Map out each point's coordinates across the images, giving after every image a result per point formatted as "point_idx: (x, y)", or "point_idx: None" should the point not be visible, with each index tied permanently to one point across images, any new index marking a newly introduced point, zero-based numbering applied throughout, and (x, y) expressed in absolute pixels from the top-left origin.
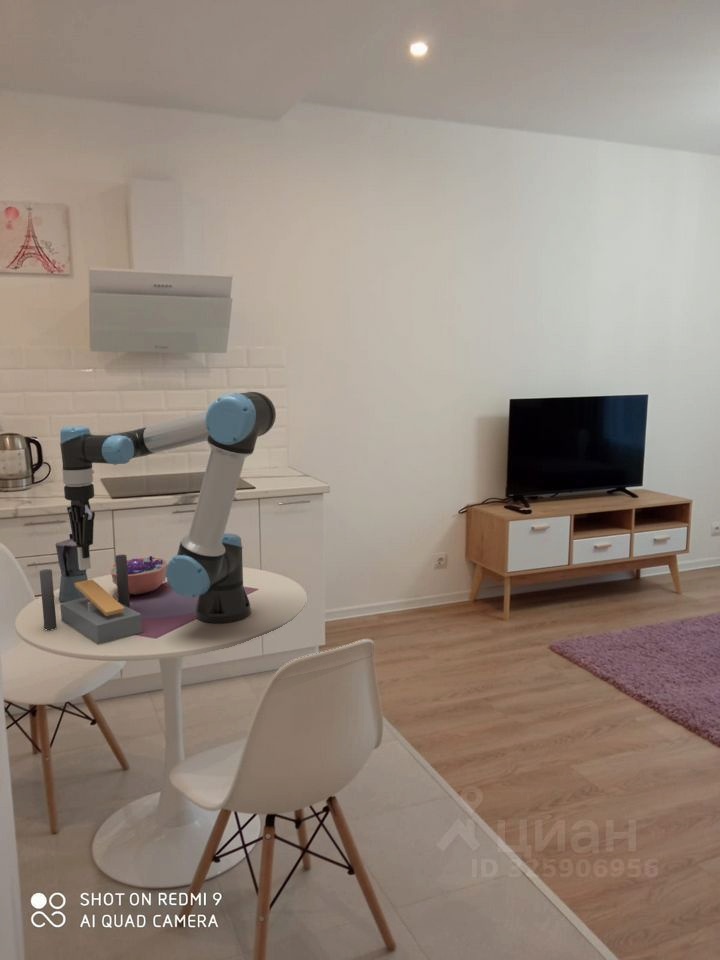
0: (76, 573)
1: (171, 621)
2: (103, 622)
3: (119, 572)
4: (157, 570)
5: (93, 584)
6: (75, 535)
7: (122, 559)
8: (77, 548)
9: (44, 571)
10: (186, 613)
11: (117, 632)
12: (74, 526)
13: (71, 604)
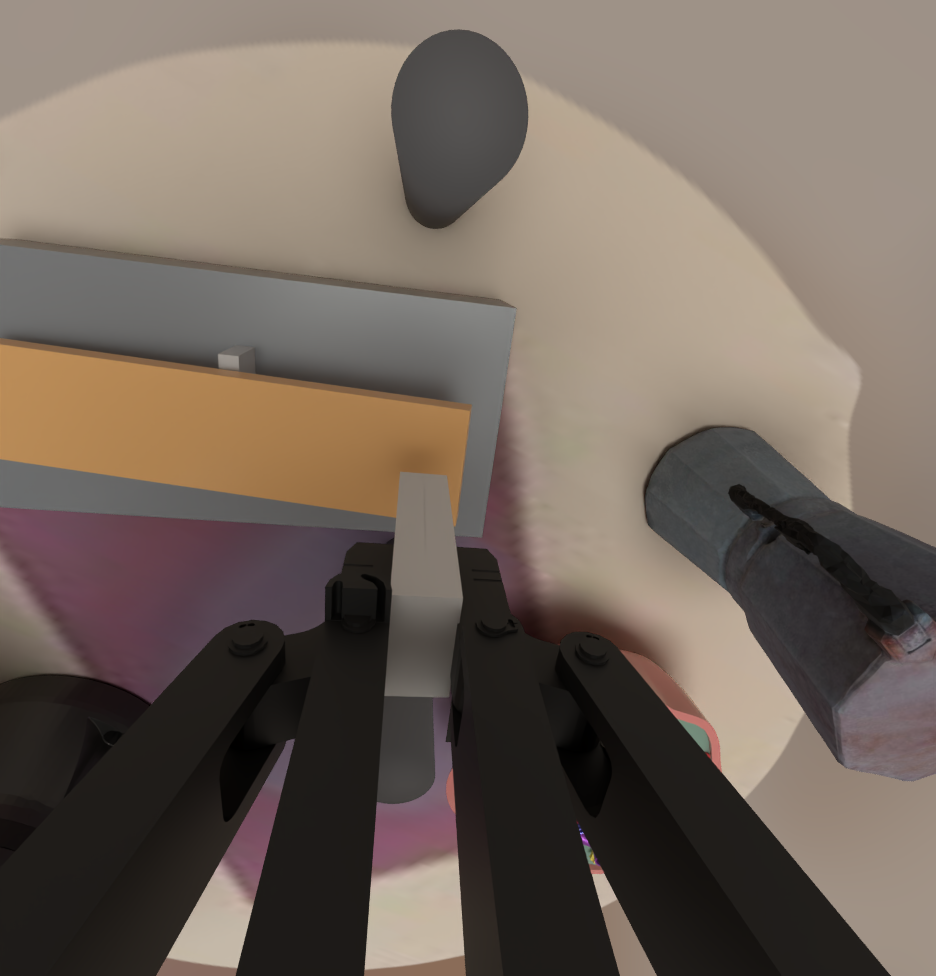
0: (739, 552)
1: (124, 606)
2: None
3: None
4: (453, 805)
5: (378, 491)
6: (542, 714)
7: None
8: (456, 579)
9: (445, 88)
10: None
11: None
12: (689, 882)
13: (440, 340)
